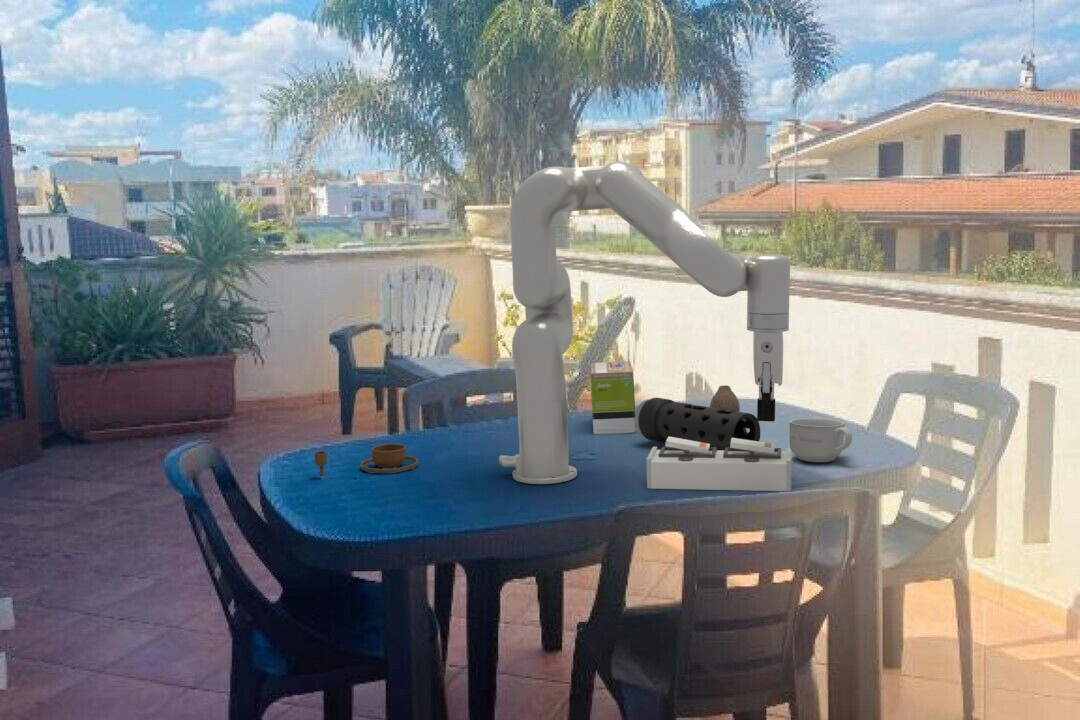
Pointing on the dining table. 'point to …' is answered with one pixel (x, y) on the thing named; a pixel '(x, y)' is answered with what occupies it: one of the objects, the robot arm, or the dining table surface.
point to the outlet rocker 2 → (752, 446)
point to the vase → (725, 399)
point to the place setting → (377, 459)
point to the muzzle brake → (694, 423)
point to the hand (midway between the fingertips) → (766, 420)
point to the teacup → (818, 438)
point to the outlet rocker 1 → (687, 445)
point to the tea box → (612, 398)
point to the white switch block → (719, 469)
